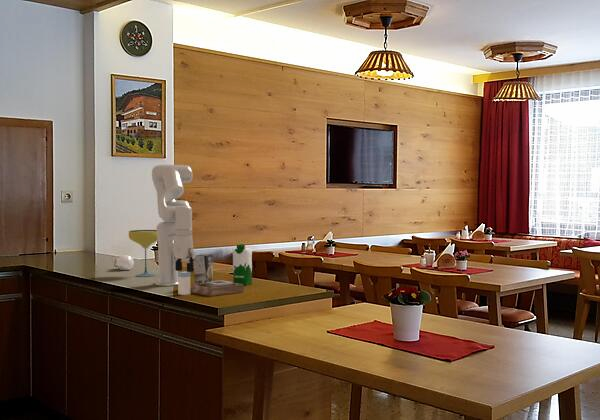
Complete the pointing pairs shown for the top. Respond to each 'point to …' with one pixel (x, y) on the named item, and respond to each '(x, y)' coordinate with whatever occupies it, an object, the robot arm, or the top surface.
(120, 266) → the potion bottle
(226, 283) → the block
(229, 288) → the walled box
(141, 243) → the cocktail glass
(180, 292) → the plug
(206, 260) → the coffee box
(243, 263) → the milk carton
